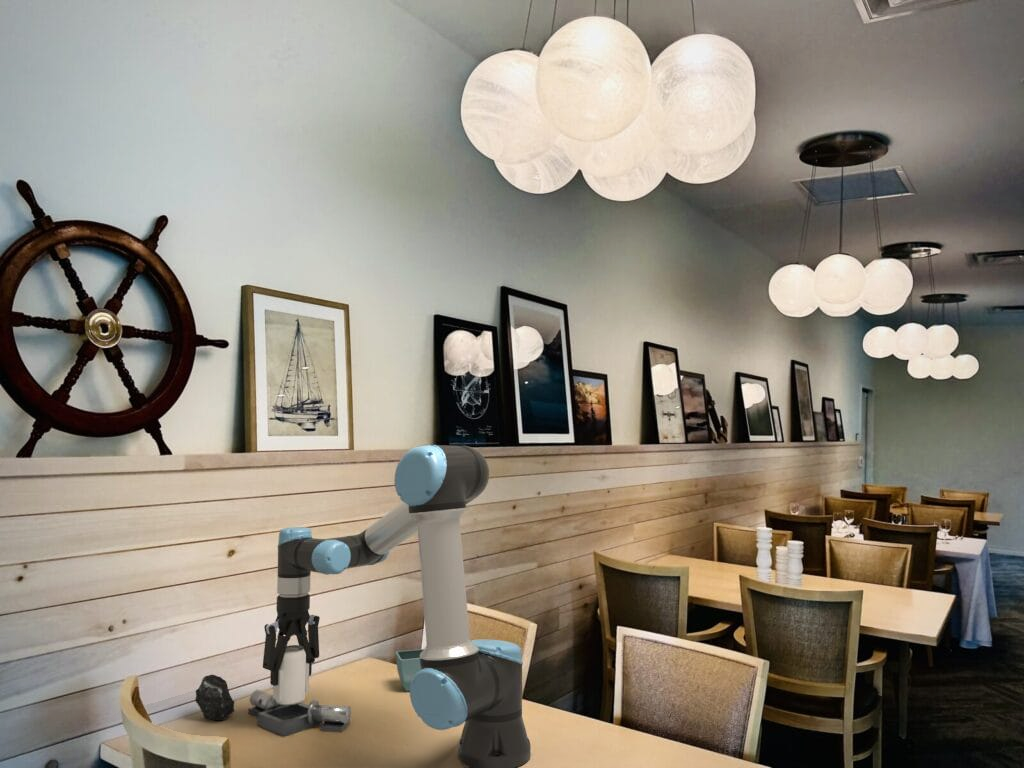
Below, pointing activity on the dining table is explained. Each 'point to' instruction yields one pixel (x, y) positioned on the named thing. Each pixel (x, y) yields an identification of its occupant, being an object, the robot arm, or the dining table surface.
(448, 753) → the dining table surface
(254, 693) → the shaft
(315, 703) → the shaft
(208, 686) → the rock
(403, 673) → the flower pot
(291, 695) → the can
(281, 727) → the socket
